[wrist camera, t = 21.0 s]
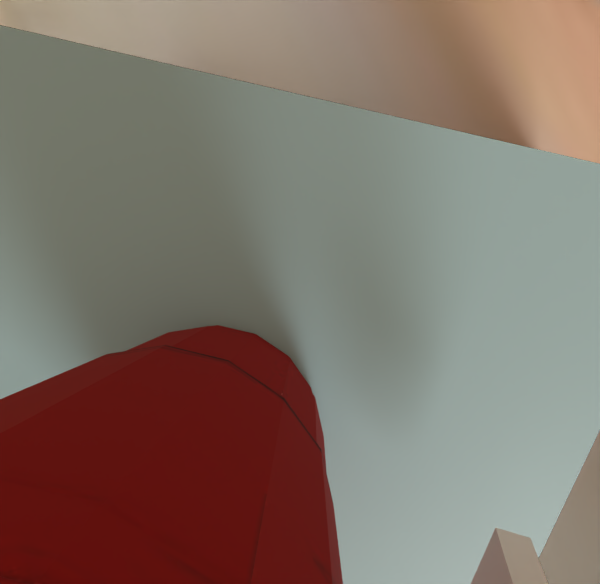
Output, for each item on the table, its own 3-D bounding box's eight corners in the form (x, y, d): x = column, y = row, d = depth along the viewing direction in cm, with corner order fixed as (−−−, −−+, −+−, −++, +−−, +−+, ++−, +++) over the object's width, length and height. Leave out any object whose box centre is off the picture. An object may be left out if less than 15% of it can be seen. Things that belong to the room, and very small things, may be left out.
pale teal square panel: (-27, 545, 19) (-49, 566, 18) (-9, 26, 13) (-40, 15, 12) (449, 704, 17) (453, 736, 16) (686, 187, 12) (714, 190, 11)
